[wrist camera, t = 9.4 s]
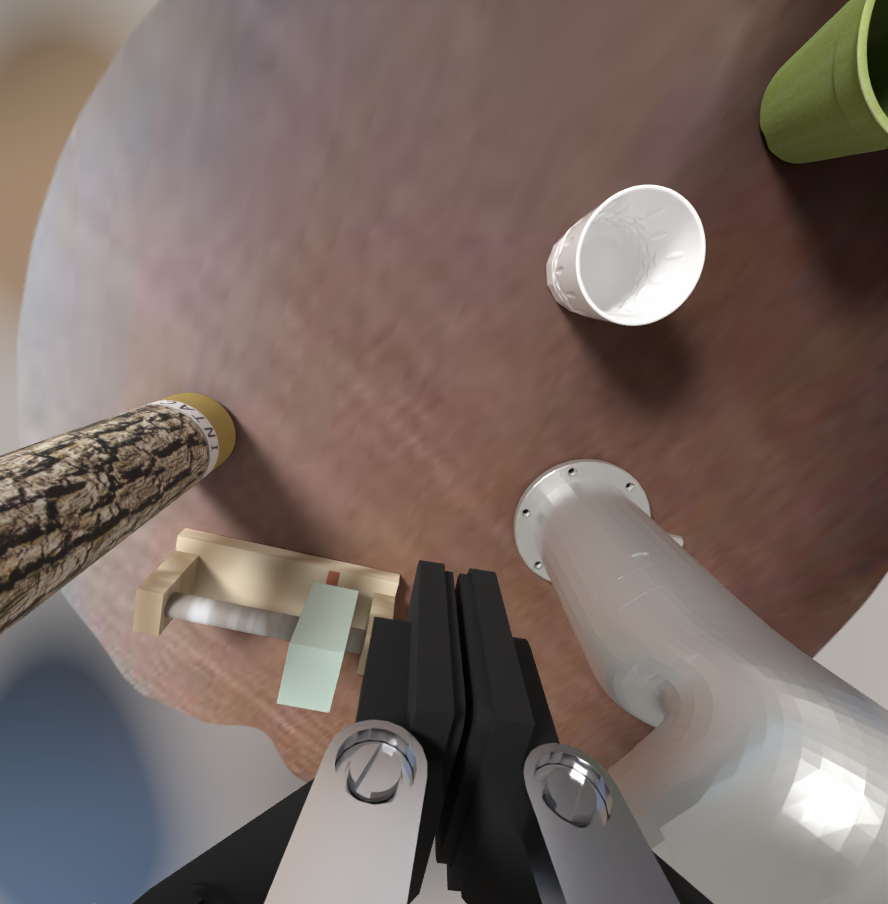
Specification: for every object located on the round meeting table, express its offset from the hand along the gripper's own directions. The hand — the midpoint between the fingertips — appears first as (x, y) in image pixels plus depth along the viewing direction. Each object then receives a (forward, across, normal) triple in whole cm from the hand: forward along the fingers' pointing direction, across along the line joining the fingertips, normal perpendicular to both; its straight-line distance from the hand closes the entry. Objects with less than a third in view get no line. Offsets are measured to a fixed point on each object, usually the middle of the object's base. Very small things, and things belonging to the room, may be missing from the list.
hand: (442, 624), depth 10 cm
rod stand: (+31, +10, +21) cm, 39 cm away
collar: (+28, +5, +21) cm, 36 cm away
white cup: (+32, -10, -12) cm, 35 cm away
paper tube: (+32, +19, +7) cm, 38 cm away
